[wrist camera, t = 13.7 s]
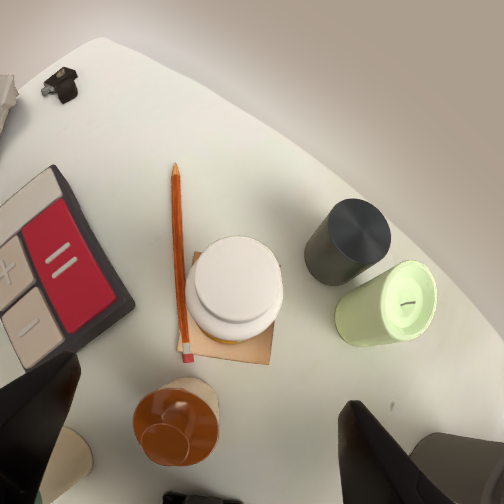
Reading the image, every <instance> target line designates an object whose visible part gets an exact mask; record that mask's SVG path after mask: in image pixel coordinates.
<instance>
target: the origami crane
mask: <svg viewBox="0 0 504 504" xmlns="http://www.w3.org/2000/svg"><path fill="white" fill-rule="evenodd" d="M18 95H19V93H18V91H17V90H16V87H15V83H14V75H0V135H1V132H2V129H3V126H4V123H5V120H6V117H7V114H8V111H9V108H11V107H13V106H16V97H17V96H18Z"/></svg>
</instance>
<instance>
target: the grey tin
mask: <svg viewBox="0 0 504 504" xmlns="http://www.w3.org/2000/svg"><path fill="white" fill-rule="evenodd" d="M390 243H391V233H390V228H389V226H388V223H387V221H386V219H385V218H384V216H383V215H382V213H381V212H380V211H379V210H378V209H377V208H376V207H374V206H373V205H372V204H370V203H368V202H366V201H364V200H360V199H346V200H343V201H341V202H339V203H337V204H336V205H335V206H334V207H333V209H332V210H331V211H330V213H329V214H328V215H327V217H326V218H325V219H324V221H323V222H322V223H321V225H320V226H319V228H318V229H317V230H316V232H315V233H314V234H313V236H312V237H311V238H310V240H309V241H308V243H307V245H306V248H305V262H306V265H307V268H308V269H309V271H310V273H311V274H312V275H313V276H314V277H315V278H316V279H317V280H319V281H320V282H322V283H324V284H327V285H333V286H336V285H342V284H344V283H346V282H348V281H349V280H351V279H353V278H354V277H356V276H357V275H359V274H360V273H362V272H364V271H365V270H367V269H368V268H370V267H371V266H373V265H374V264H376V263H377V262H379V261H380V260H381V259H383V258H384V257H385V255H386V254H387V252H388V250H389V248H390Z"/></svg>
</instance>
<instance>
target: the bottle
mask: <svg viewBox="0 0 504 504" xmlns="http://www.w3.org/2000/svg"><path fill="white" fill-rule="evenodd" d="M410 458H411V459H412V460H413V461H414V462H415V464H416V465H417V466H418V467H419V468H420V470H422V471H423V473H424V474H425V475H426V476H427V477H428V478H429V479H430V480H431V481H432V482H433V483H434V484H435V485H436V486H437V487H438V488H439V489H440V490H441V491H442V492H443V493H444V494H445V495H447V496H448V497H449V498H450V499H451V500H452V501H454V502H457V503H459V504H504V443H501V442H493V441H486V440H480V439H474V438H468V437H462V436H456V435H451V434H445V433H433V434H431V435H429V436H427V437H426V438H424V439H423V440H422V441H421V442H420V443H419V444H418V445H417V446H416V448H415V449H414V451H413V452H412V454H411V456H410Z"/></svg>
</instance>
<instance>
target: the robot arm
mask: <svg viewBox="0 0 504 504" xmlns="http://www.w3.org/2000/svg"><path fill="white" fill-rule="evenodd" d="M80 376H81V368H80V364H79V361H78V357H77V355H76V353H74V352H71V351H68V350H64V351H62V352H60V353H59V354H57V355H55V356H54V357H52V358H50V359H49V360H47V361H45V362H44V363H42V364H40V365H39V366H37V367H35V368H34V369H32V370H30V371H29V372H27V373H25V374H24V375H22V376H20V377H19V378H17V379H15V380H14V381H12V382H11V383H9V384H7V385H6V386H4V387H2V388H1V389H0V504H35V500H36V497H37V494H38V491H39V488H40V485H41V482H42V479H43V476H44V473H45V471H46V468H47V465H48V462H49V460H50V457H51V454H52V452H53V449H54V447H55V444H56V442H57V439H58V437H59V434H60V432H61V429H62V427H63V424H64V422H65V420H66V417H67V415H68V412H69V410H70V407H71V404H72V400H73V397H74V394H75V391H76V388H77V385H78V382H79V379H80ZM338 458H339V467H340V476H341V485H342V495H343V504H456V503H455V502H454V501H452V500H451V499H450V498H449V497H448V496H447V495H445V494H444V493H443V492H442V491H441V490H440V489H439V488H438V487H437V486H436V485H435V484H434V483H433V482H432V481H431V480H430V479H429V478H428V477H427V476H426V475H425V474H424V473H423V471H422V470H420V468H419V467H418V466H417V465H416V464H415V462H414V461H413V460H412V459H411V458H410V457H409V456H408V455H407V453H406V452H405V451H404V450H403V449H402V448H401V447H400V445H399V444H398V443H397V442H396V441H395V440H394V439H393V437H392V436H391V435H390V434H389V433H388V432H387V431H386V429H385V428H384V427H383V426H382V425H381V424H380V423H379V421H378V420H377V419H376V418H375V417H374V416H373V414H372V413H371V412H370V411H369V410H368V409H367V408H366V406H365V405H364V404H363V403H362V402H361V401H358V400H350V401H348V402H347V403H346V405H345V406H344V408H343V409H342V411H341V412H340V414H339V417H338ZM167 496H170V497H172V499H169V498H167ZM162 504H244V503H242V502H239V501H228V500H221V499H220V498H213V497H205V496H198V495H192V494H189V495H184V494H178V493H173V492H166V493H164V495H163V503H162Z"/></svg>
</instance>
